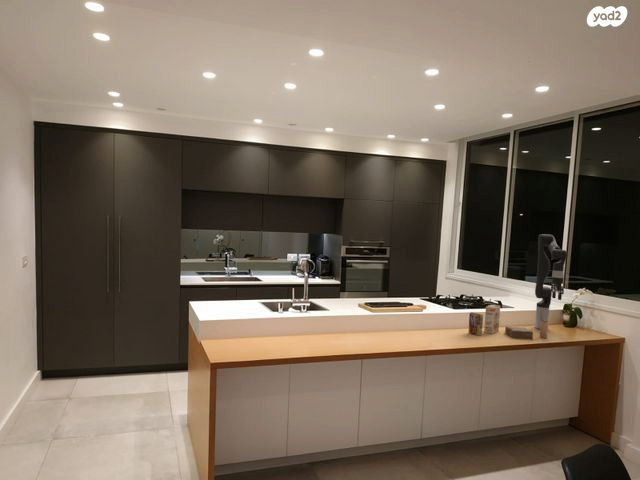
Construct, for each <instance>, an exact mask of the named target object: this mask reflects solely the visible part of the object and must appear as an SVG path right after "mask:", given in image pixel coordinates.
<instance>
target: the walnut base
mask: <svg viewBox="0 0 640 480" xmlns="http://www.w3.org/2000/svg"><path fill="white" fill-rule="evenodd" d="M504 329H505V331H504V332H505V333H504V334H505V335H506V336H507V335H508V336H509V337H510V338H512V339H525V340H527V339H528V340H533V338H534V337H533V336H534V332H533V331H532V330H530V329H528V328H526V327H525V326H524V327H521V326H520V327H519V326H505V328H504Z"/></svg>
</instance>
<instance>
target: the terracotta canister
mask: <svg viewBox="0 0 640 480" xmlns="http://www.w3.org/2000/svg"><path fill="white" fill-rule="evenodd" d="M548 329H549V321H547V320H541V324H540V329H539V338H541V339H547V338H548Z"/></svg>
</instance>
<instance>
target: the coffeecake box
mask: <svg viewBox="0 0 640 480" xmlns="http://www.w3.org/2000/svg"><path fill="white" fill-rule="evenodd" d="M484 315H485V316H484V326H483V327H484V328H483V329H484V331H483V332H484V333H486V334H490V335H494V334H496V333H498V332H500V315H501V305H498V304H490V305H489V304H488V306H485V313H484Z"/></svg>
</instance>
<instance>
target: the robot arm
mask: <svg viewBox="0 0 640 480" xmlns="http://www.w3.org/2000/svg"><path fill="white" fill-rule="evenodd" d="M537 238H538V240H537V246H538V248H537V250H538V253H537V268H536V269H537V272H536V282H535V287H534V288H535V289H534V294H535V295H534V296H535V297H536V298H537V299H541V300H540V301H538V302H537V303H536V310H535V311H536V312H535V326H534V328H535V329H539V330H540V324H541V320H547V321H548V322H549V321H550V320H549V319H550V317H549V316H550V306H551V303H552V299H556V297H557V300H559V301H562V297H563V295H564V293H565V291H564V290H565V286H564V285H563V284H564V282H565V281H564V277H565V273H564V271H565V270H564V269H565V263H566V260H567V257H568V252H567V250H566V249H561V247H560V245H558V244H557V240H556V238H555V236H554V235H553V234H548V233H547V234H545V233H544V234H543V233H542V234H539V235H538V237H537ZM544 247H548V251H549V252H550V257H551V259H553V260H559V261H557V262H554V263H553V264H552V265H553V266H552V273H551V285H550V287H548V286H544V282H545V281H546V280H545V279H547V277H548V276H549V275H550V272H551V261H550V259H549V257H548V256H547V254H546V252H545V249H544ZM557 294H558V295H557Z"/></svg>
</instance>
